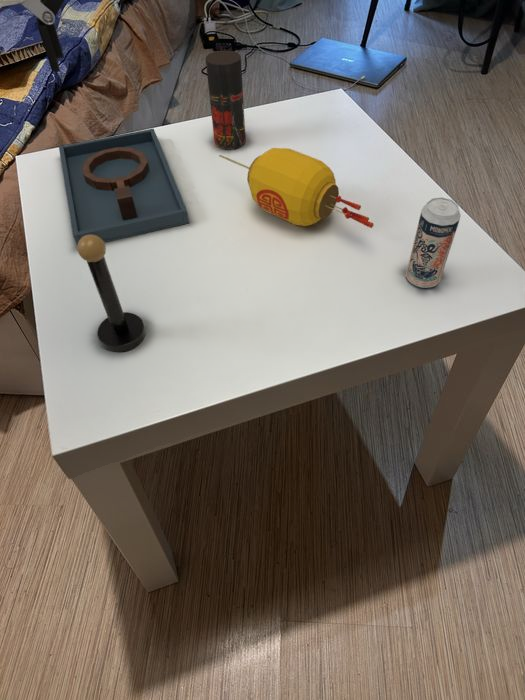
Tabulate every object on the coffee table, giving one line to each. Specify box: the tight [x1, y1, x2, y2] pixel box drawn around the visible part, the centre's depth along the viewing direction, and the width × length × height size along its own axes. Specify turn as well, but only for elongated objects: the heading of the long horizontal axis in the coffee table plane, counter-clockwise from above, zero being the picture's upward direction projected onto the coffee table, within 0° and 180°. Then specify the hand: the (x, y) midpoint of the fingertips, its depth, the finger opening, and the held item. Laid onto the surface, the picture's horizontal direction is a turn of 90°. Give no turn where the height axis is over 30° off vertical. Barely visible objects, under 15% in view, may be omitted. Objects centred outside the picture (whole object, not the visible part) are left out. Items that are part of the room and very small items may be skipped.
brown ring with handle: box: [82, 147, 149, 220], centre depth 89 cm, size 20×11×4 cm, turn 19°
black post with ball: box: [76, 234, 146, 353], centre depth 63 cm, size 6×6×16 cm
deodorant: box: [205, 49, 247, 151], centre depth 94 cm, size 6×6×15 cm
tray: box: [58, 128, 190, 246], centre depth 90 cm, size 18×28×2 cm, turn 18°
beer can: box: [405, 196, 462, 289], centre depth 69 cm, size 5×5×12 cm
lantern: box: [218, 147, 375, 229], centre depth 81 cm, size 10×10×30 cm
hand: (4, 75), depth 50 cm, fingers open, 9 cm apart
